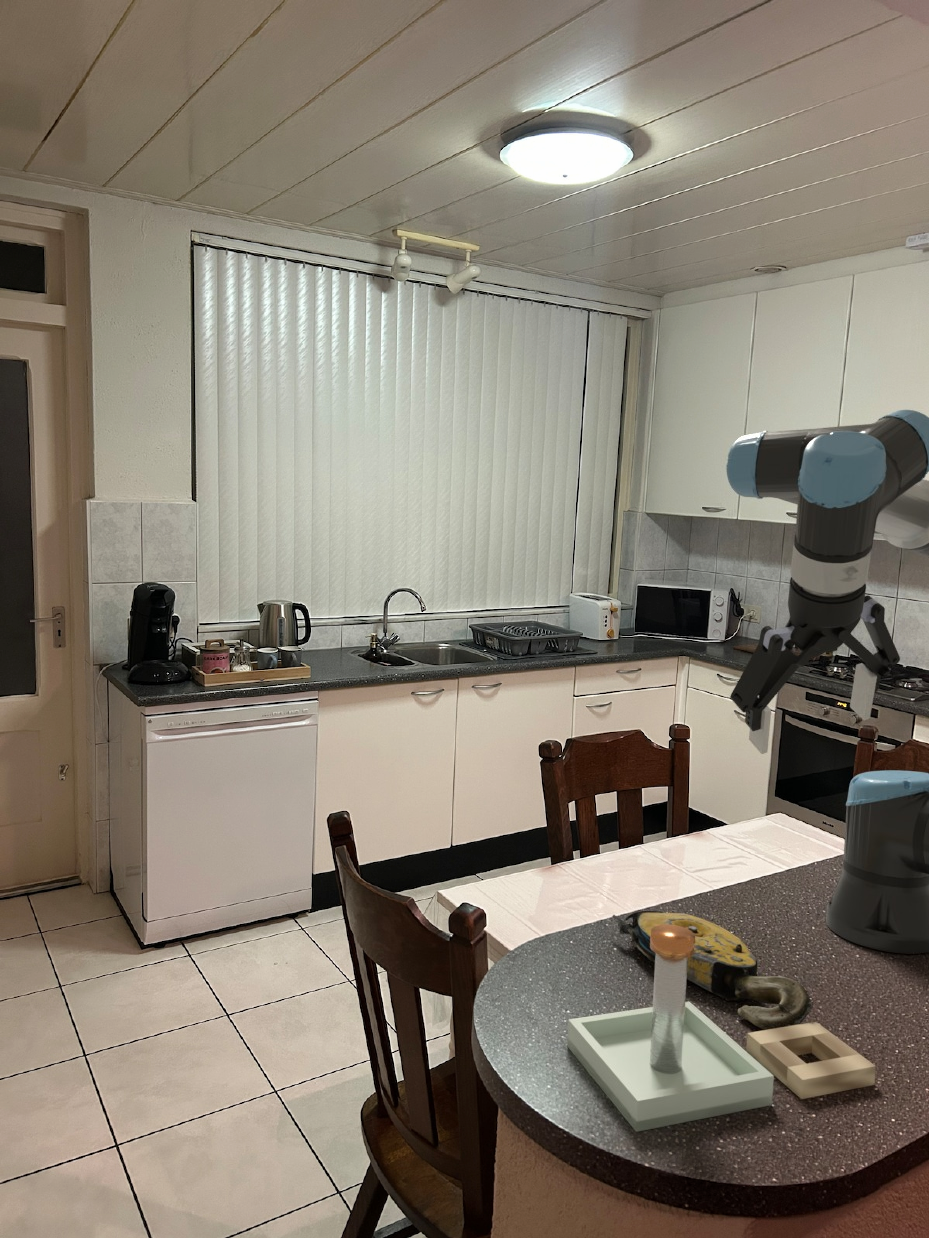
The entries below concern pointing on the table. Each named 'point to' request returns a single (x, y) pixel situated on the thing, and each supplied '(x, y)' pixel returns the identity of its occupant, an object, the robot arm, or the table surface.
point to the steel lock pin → (669, 995)
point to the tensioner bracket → (813, 1079)
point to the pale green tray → (652, 1099)
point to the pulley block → (726, 969)
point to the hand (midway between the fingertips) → (809, 729)
